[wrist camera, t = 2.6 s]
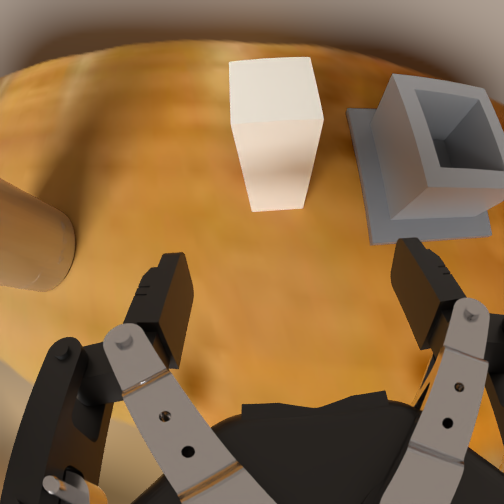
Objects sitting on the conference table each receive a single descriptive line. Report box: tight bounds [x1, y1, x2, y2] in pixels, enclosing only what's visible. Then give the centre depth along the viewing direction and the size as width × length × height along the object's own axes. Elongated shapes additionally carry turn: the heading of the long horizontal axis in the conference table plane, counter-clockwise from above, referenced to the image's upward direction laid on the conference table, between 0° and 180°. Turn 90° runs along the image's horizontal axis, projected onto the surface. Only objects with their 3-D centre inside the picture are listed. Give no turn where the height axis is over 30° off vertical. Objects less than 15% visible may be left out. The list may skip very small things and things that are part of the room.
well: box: [346, 74, 504, 245], centre depth 23 cm, size 14×14×9 cm
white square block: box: [229, 57, 324, 212], centre depth 22 cm, size 4×4×14 cm
